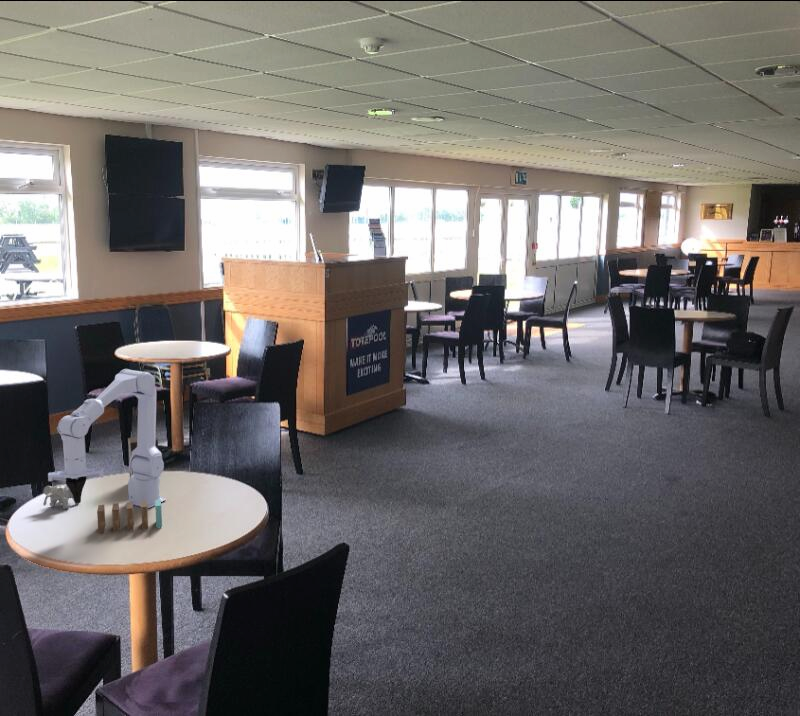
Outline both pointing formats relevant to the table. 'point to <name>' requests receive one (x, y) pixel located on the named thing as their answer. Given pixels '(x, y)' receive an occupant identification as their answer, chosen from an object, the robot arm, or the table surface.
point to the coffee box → (133, 444)
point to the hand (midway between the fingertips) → (78, 501)
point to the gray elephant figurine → (58, 495)
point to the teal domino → (158, 513)
